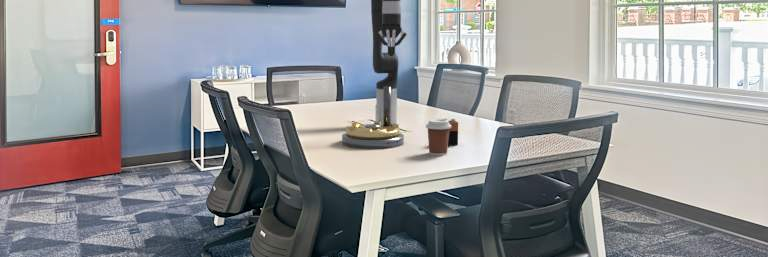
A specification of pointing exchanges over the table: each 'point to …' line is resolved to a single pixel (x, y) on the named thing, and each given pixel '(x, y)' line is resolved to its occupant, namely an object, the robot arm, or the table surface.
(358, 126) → the gold base with rod
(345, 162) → the table surface
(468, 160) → the table surface
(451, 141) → the battery
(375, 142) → the cap housing
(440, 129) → the coffee cup
